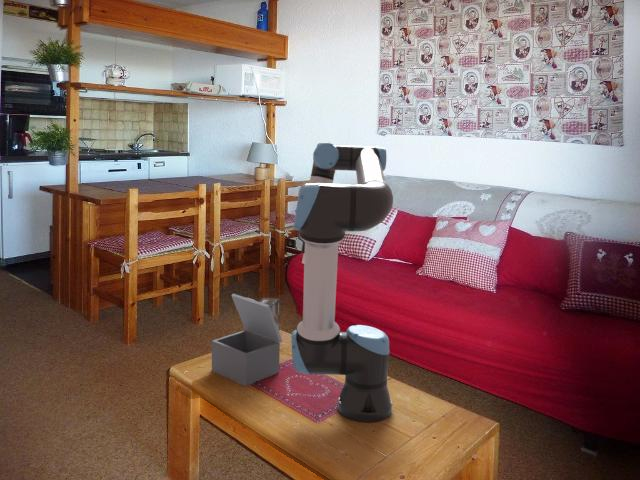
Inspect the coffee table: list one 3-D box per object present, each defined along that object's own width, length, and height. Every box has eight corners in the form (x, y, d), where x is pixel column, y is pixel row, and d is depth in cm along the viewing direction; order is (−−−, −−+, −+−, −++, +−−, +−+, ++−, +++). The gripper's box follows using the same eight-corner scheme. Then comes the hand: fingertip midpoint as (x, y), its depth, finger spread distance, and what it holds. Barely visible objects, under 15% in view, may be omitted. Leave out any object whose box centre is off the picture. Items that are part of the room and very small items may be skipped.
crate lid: (280, 343, 192) (282, 340, 192) (267, 307, 184) (269, 304, 185) (245, 329, 202) (247, 327, 203) (231, 295, 195) (233, 293, 196)
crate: (278, 373, 194) (279, 343, 192) (245, 386, 183) (246, 354, 181) (245, 358, 204) (245, 330, 202) (211, 370, 194) (211, 340, 192)
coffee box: (262, 339, 222) (263, 296, 219) (279, 341, 221) (280, 298, 217) (254, 348, 213) (255, 304, 210) (272, 350, 212) (273, 306, 209)
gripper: (334, 196, 202) (320, 266, 202) (297, 187, 198) (282, 259, 198) (342, 195, 195) (327, 268, 195) (303, 186, 191) (289, 261, 191)
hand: (305, 263), depth 196 cm, fingers closed
